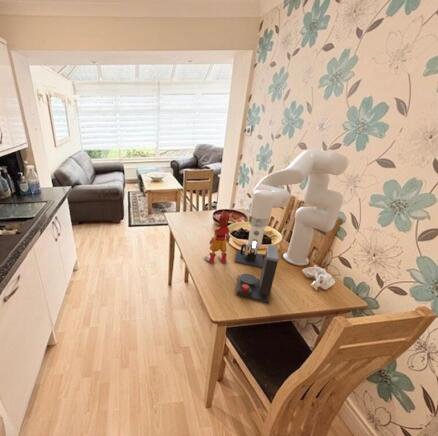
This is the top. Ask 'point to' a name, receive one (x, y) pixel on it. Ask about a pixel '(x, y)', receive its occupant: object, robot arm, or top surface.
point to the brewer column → (265, 271)
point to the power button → (245, 287)
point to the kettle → (245, 250)
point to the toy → (220, 238)
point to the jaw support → (319, 277)
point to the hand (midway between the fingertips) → (251, 255)
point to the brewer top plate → (241, 260)
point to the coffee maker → (252, 292)
